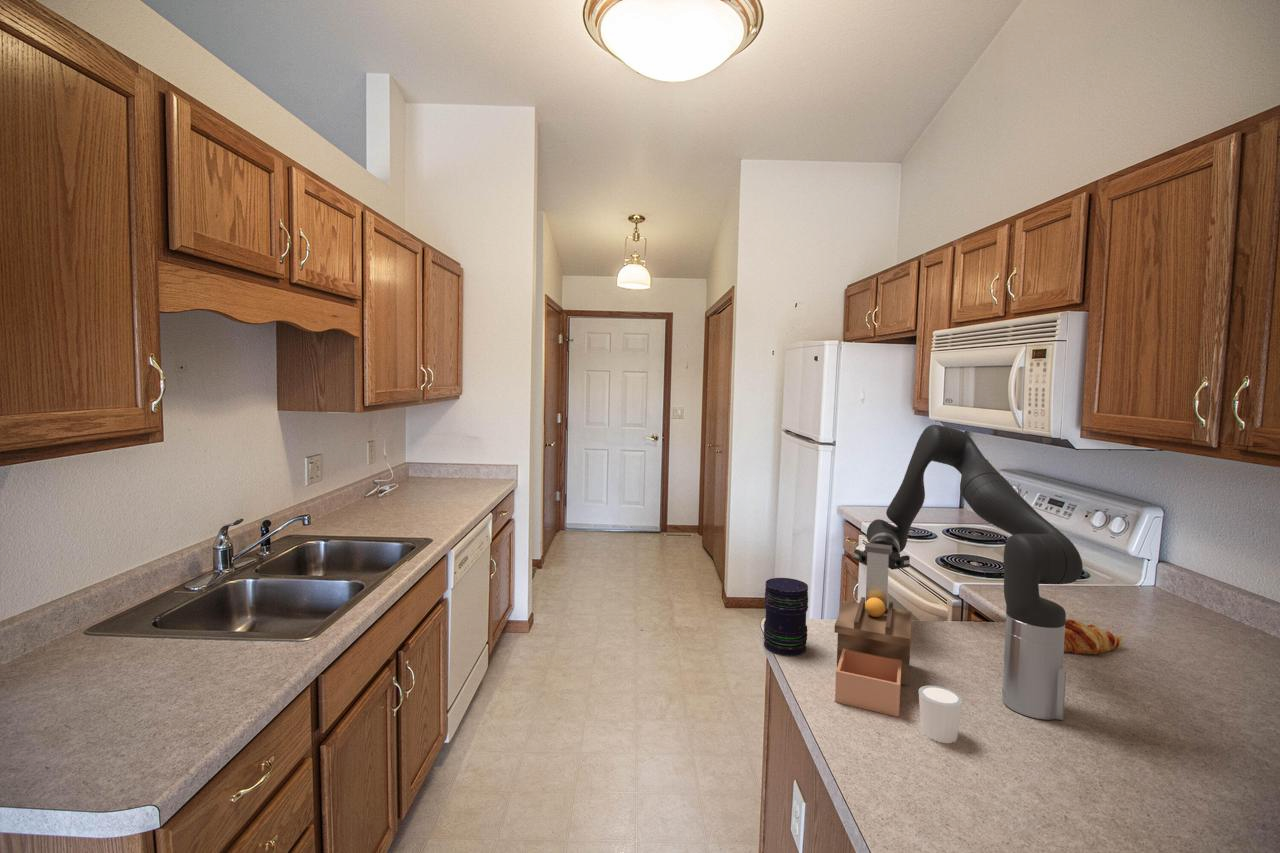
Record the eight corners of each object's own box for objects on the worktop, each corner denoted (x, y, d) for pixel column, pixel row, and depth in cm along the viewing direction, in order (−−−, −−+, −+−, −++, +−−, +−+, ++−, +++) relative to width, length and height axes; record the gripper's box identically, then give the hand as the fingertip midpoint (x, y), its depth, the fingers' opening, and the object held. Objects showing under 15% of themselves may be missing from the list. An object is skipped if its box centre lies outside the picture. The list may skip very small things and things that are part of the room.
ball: (885, 615, 122) (886, 596, 121) (884, 621, 118) (885, 602, 118) (865, 611, 123) (866, 593, 123) (863, 618, 120) (864, 599, 120)
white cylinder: (967, 748, 95) (969, 707, 95) (923, 742, 96) (924, 702, 96) (953, 725, 102) (955, 687, 101) (912, 720, 103) (913, 682, 103)
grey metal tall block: (889, 607, 125) (891, 545, 125) (888, 613, 122) (891, 549, 121) (864, 603, 128) (866, 542, 127) (862, 608, 124) (865, 546, 124)
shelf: (909, 665, 125) (911, 604, 124) (908, 699, 110) (910, 631, 110) (842, 651, 131) (844, 594, 130) (832, 682, 116) (834, 618, 116)
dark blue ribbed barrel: (759, 651, 130) (761, 587, 129) (766, 635, 139) (768, 575, 138) (804, 659, 126) (806, 594, 126) (808, 642, 136) (810, 580, 135)
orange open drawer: (900, 689, 114) (901, 660, 114) (898, 717, 104) (900, 685, 104) (842, 676, 119) (843, 648, 119) (834, 701, 109) (835, 671, 109)
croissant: (1109, 656, 138) (1098, 622, 142) (1145, 654, 129) (1132, 617, 133) (1025, 655, 137) (1016, 620, 141) (1055, 652, 128) (1045, 615, 132)
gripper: (856, 532, 147) (848, 547, 132) (912, 538, 141) (911, 555, 126) (855, 560, 148) (847, 579, 132) (911, 568, 142) (910, 588, 126)
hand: (879, 567), depth 129 cm, fingers closed
